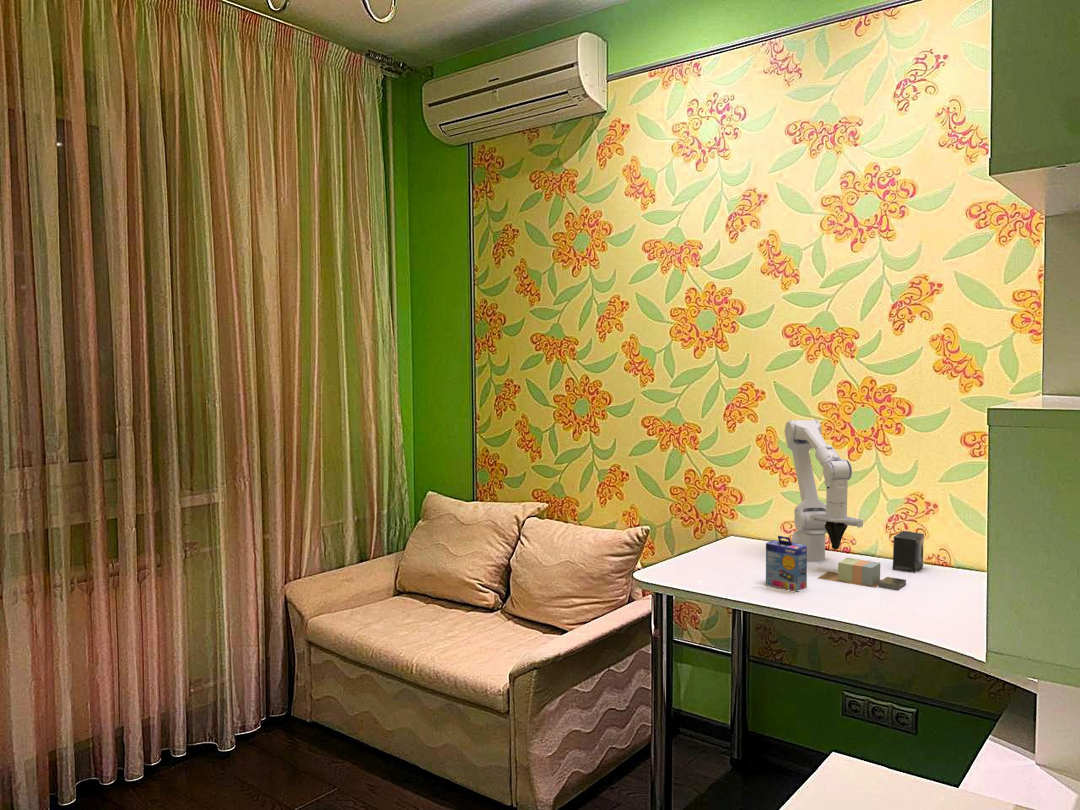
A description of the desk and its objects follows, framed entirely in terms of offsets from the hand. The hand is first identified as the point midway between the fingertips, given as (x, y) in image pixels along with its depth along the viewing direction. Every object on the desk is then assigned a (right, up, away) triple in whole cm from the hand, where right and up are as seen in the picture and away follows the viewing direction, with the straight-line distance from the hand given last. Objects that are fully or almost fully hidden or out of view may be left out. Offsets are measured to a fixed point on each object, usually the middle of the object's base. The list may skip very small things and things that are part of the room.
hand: (835, 548), depth 240 cm
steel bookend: (+8, -7, -13) cm, 17 cm away
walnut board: (+2, -8, -8) cm, 11 cm away
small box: (+23, -7, +5) cm, 25 cm away
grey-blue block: (+6, -8, -11) cm, 15 cm away
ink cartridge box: (-18, -9, -13) cm, 24 cm away
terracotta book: (+4, -7, -9) cm, 13 cm away
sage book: (+1, -7, -7) cm, 10 cm away
